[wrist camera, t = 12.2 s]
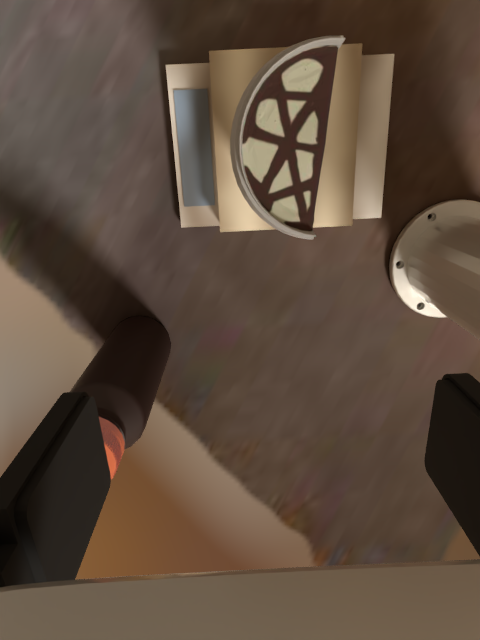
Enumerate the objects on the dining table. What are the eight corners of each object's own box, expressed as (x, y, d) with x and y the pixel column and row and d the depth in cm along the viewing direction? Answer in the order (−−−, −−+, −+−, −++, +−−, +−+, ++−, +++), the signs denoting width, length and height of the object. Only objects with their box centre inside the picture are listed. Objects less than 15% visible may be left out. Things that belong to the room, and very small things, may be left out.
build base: (388, 57, 37) (413, 40, 31) (376, 215, 42) (396, 223, 37) (168, 68, 37) (157, 53, 31) (183, 225, 42) (176, 234, 37)
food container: (236, 58, 32) (238, 15, 22) (313, 66, 32) (347, 26, 23) (225, 218, 36) (223, 237, 27) (293, 223, 36) (314, 244, 27)
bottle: (99, 337, 46) (9, 455, 28) (144, 303, 45) (81, 403, 26) (140, 378, 48) (81, 514, 30) (183, 347, 47) (151, 469, 28)
